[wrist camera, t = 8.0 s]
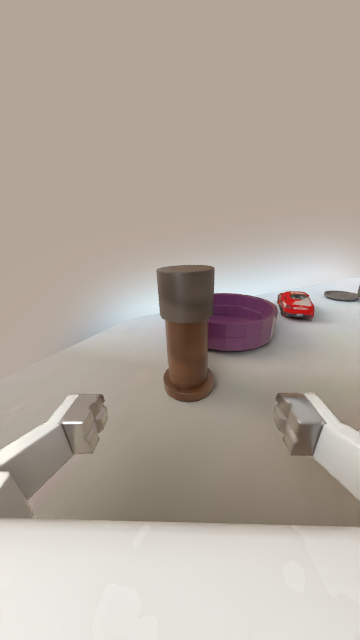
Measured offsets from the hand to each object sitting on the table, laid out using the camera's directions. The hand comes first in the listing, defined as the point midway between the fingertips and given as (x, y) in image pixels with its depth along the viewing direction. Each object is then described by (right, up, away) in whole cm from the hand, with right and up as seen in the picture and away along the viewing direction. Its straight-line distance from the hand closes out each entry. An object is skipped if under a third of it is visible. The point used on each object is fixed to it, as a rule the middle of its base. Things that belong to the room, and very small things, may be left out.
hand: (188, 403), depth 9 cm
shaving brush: (0, -3, +11) cm, 12 cm away
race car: (+23, +6, +31) cm, 39 cm away
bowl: (+7, +2, +23) cm, 24 cm away
